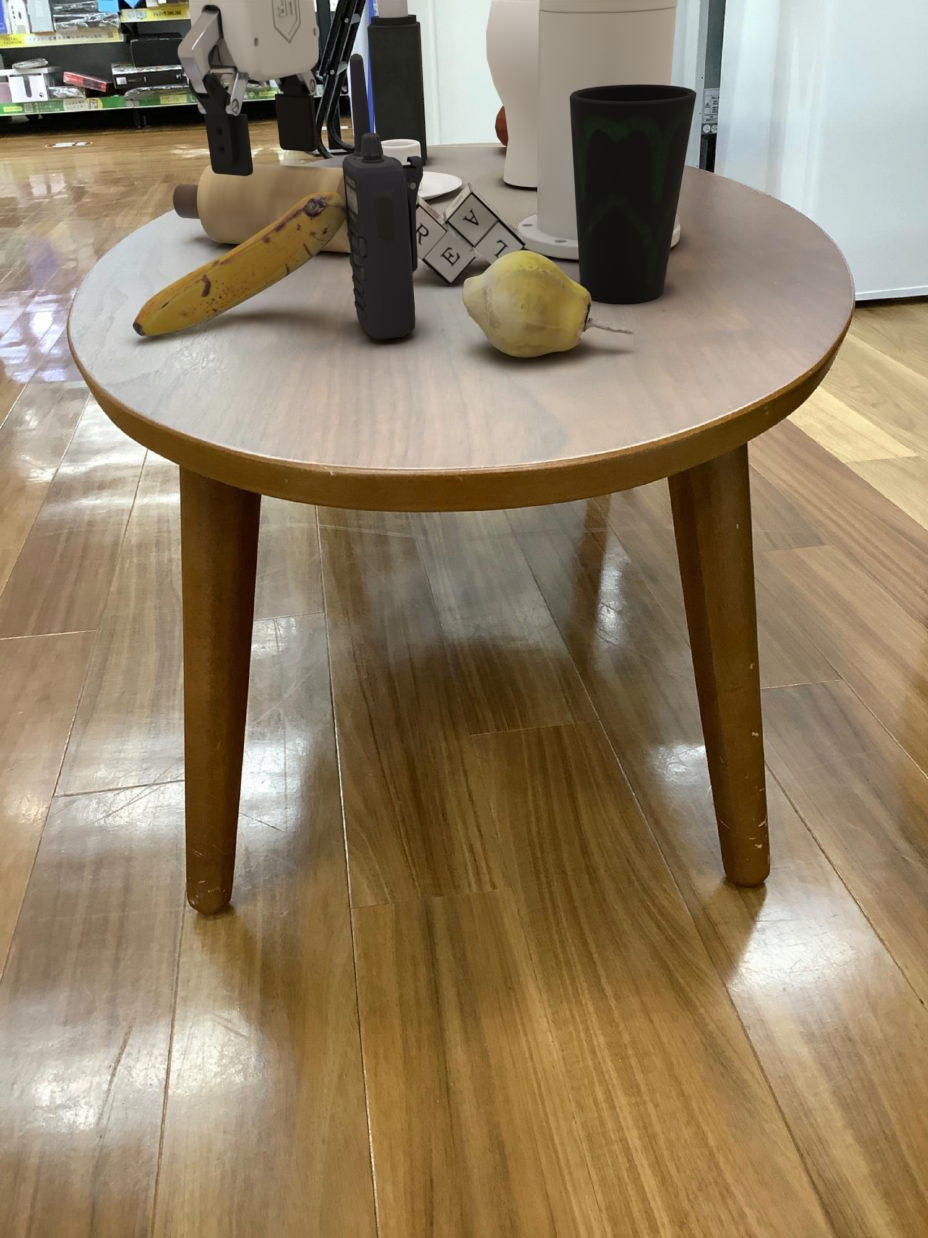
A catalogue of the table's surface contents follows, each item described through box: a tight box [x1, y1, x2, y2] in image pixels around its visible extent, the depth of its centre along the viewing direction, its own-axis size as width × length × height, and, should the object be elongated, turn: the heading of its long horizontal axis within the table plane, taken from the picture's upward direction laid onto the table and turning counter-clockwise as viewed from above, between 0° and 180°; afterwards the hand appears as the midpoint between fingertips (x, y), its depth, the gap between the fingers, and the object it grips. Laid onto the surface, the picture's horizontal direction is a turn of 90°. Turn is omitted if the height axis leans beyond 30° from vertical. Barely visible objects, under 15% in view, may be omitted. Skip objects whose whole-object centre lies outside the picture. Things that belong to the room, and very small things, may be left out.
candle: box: [366, 0, 428, 166], centre depth 100 cm, size 5×5×25 cm
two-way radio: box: [341, 53, 424, 341], centre depth 58 cm, size 6×4×15 cm
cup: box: [569, 84, 697, 305], centre depth 65 cm, size 8×8×12 cm
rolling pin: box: [172, 163, 351, 254], centre depth 79 cm, size 19×6×6 cm, turn 69°
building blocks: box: [416, 182, 526, 287], centre depth 71 cm, size 5×5×8 cm
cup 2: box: [485, 0, 539, 188], centre depth 92 cm, size 11×11×15 cm
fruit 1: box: [132, 192, 347, 337], centre depth 61 cm, size 15×9×3 cm
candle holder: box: [381, 139, 463, 201], centre depth 94 cm, size 12×12×4 cm
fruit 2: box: [462, 249, 634, 358], centre depth 58 cm, size 6×6×10 cm
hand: (267, 161), depth 77 cm, fingers open, 9 cm apart
